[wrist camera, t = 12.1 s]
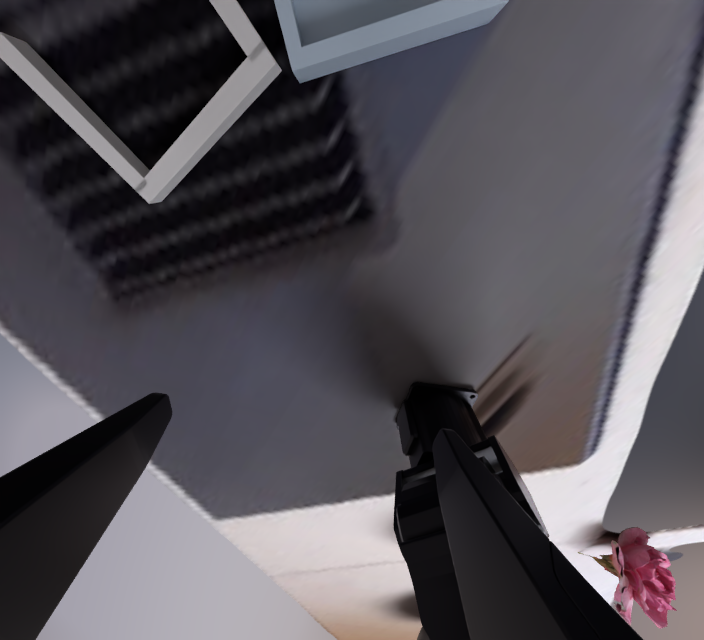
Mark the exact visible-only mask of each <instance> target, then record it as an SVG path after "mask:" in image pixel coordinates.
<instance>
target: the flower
mask: <svg viewBox="0 0 704 640" xmlns="http://www.w3.org/2000/svg"><path fill="white" fill-rule="evenodd" d="M646 534H647V533H646V532H645V531H643V530H642V529H640V528H638V527H632V528H628V529H626V530H624V531H622V532H621V533H620V535H619V538H618V543H617V542H616V541H614V540H612V542H611V546H612V553H613V554H611V555H599V556H601V557H602V559H598V558H597V557H592V556H590V557H592V558H594V559H595V560H596V561H597V562H598V563H599V564H600V565H602V566H603V567H604V568H605V570H607V571H609V572H611V573H612V574H614V575H615V576H617V577H619V584H618V586H617V588H616V591H615V594H614V604H615V606H616V608H617V611H618V612H619V614H620V616H621V617H622V618H623V619H624V620H625V621H626V622H627V623H628V624H629V625H631V610H632V604H633V599H634V600H635V601H636V602H637V603H638V604H639V605H640V606H641V608H642V609H643V611H644V612H645V614H646V615H647V616H648V617H649V618H650V619H651V620H652V621H653V622H654V623H655V625H656V626H657V627H658V628H660V629H661V628H663V627H667V610H675V611H676V609H674V608H673V607H672V606H671V605H670V603H671V600H672V599H673V600H676V599H675V591H674V589H675V587H674V586H675V585H676V583H675V580H674V578H673V577H672V575H671V572H670V571H669V570H667V569H666V568H667V567H669V566H670V562H669V560H668V558H667V556H666V555H665V554H663V553H662V552H660V551H657V550H655V549H654V547H651V546H649V545H647V542H648V539H649V538H650V537H648V536H647V535H646ZM578 553H579V552H578ZM580 554H582V553H580ZM585 555H586V554H585ZM588 556H589V555H588Z"/></svg>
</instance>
